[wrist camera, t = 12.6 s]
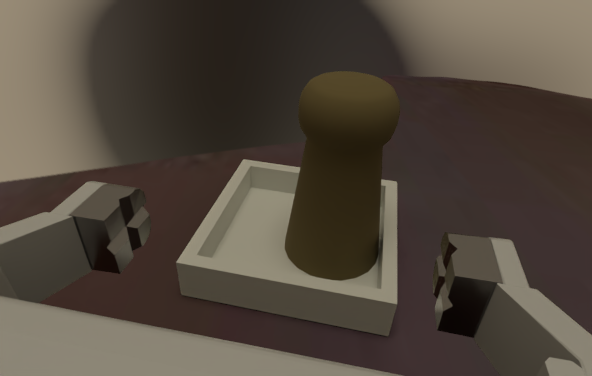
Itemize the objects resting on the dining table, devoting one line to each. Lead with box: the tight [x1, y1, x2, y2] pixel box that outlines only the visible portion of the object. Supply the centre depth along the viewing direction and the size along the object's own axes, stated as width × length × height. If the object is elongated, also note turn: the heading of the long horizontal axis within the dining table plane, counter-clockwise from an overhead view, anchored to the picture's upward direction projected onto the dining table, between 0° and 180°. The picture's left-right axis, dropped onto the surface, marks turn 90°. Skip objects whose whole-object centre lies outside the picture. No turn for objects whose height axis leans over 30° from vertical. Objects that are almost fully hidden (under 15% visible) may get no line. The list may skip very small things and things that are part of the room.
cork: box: [285, 71, 400, 281], centre depth 23 cm, size 6×6×11 cm
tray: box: [176, 159, 397, 336], centre depth 26 cm, size 12×12×2 cm
